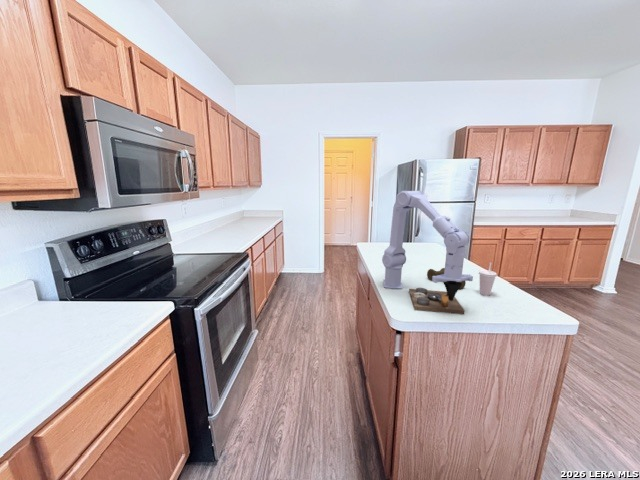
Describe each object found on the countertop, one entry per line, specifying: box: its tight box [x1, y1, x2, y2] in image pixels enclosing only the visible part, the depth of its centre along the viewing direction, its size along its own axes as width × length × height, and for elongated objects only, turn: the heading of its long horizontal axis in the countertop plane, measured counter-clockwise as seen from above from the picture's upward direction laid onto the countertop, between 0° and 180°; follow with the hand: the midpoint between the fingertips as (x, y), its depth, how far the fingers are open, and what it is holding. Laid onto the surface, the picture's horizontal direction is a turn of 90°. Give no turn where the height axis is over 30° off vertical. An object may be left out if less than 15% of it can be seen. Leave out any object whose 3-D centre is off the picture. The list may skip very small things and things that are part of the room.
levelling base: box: [408, 287, 466, 315], centre depth 103 cm, size 17×17×3 cm
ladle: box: [428, 293, 449, 307], centre depth 100 cm, size 10×5×4 cm, turn 9°
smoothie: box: [478, 262, 498, 297], centre depth 110 cm, size 6×6×14 cm
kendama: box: [426, 267, 467, 290], centre depth 125 cm, size 6×10×20 cm
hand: (450, 299), depth 97 cm, fingers closed
